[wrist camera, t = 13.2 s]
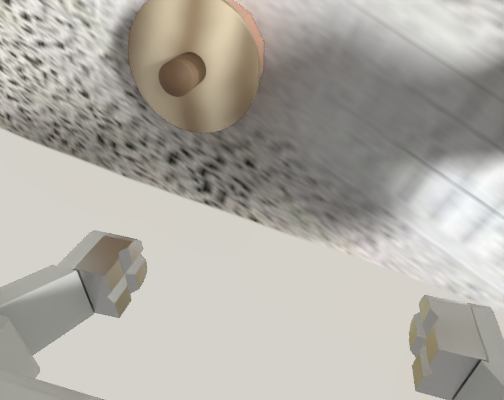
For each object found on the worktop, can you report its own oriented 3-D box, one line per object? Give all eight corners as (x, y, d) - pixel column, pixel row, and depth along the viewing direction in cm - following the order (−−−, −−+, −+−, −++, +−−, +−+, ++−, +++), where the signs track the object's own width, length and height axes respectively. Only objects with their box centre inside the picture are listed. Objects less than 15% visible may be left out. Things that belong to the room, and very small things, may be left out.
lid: (262, -11, 31) (247, -6, 27) (259, 135, 39) (247, 156, 35) (120, -15, 34) (88, -11, 30) (145, 122, 42) (122, 140, 38)
